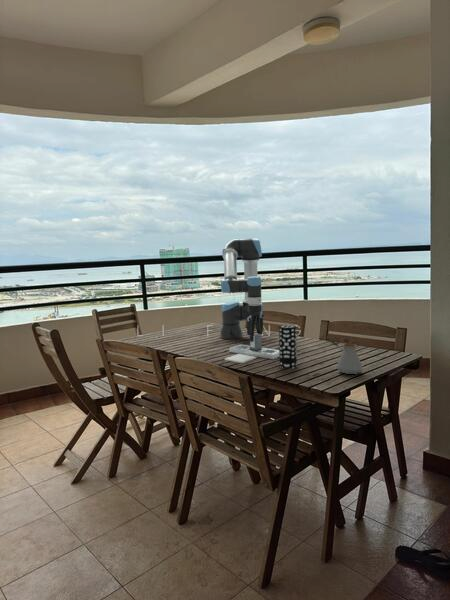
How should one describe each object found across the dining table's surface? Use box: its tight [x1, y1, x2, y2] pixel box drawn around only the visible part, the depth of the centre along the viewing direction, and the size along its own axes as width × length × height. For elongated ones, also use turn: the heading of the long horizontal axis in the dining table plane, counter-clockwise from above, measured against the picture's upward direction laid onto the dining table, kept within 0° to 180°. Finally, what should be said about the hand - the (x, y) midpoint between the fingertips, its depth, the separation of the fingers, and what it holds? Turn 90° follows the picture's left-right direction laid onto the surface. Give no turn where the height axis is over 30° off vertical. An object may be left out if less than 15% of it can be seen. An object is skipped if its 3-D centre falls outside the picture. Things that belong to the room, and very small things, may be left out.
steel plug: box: [249, 334, 263, 351], centre depth 232 cm, size 5×5×10 cm
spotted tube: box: [278, 324, 298, 369], centre depth 204 cm, size 8×8×20 cm
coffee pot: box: [323, 335, 364, 374], centre depth 195 cm, size 21×12×15 cm, turn 33°
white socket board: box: [228, 343, 279, 360], centre depth 232 cm, size 30×10×2 cm, turn 50°
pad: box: [224, 353, 257, 364], centre depth 222 cm, size 12×12×1 cm
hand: (255, 346), depth 232 cm, fingers closed on steel plug, 5 cm apart
